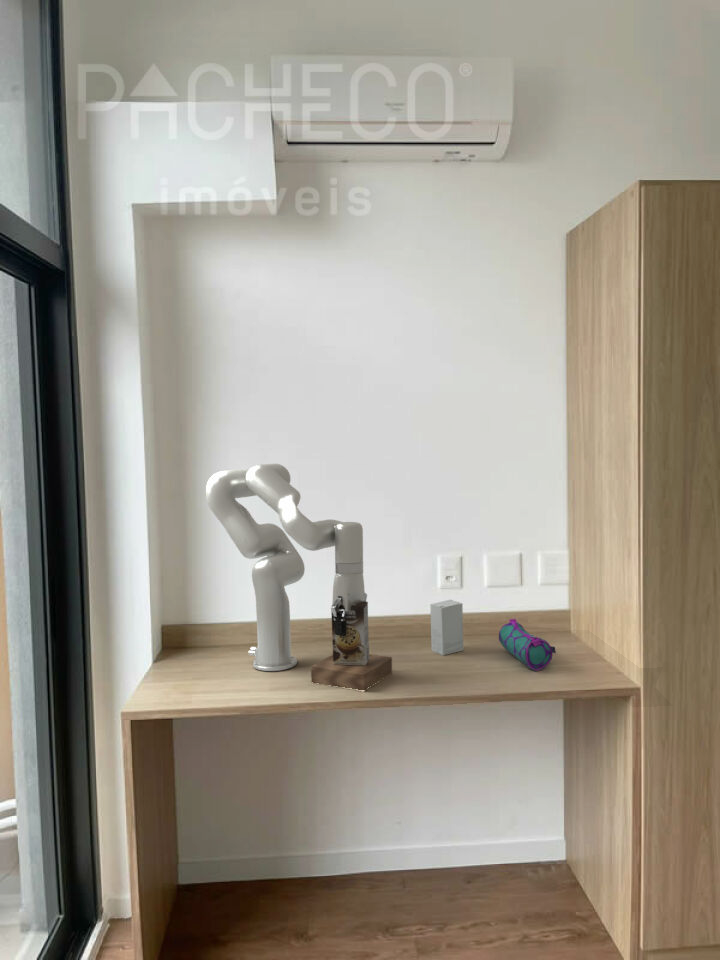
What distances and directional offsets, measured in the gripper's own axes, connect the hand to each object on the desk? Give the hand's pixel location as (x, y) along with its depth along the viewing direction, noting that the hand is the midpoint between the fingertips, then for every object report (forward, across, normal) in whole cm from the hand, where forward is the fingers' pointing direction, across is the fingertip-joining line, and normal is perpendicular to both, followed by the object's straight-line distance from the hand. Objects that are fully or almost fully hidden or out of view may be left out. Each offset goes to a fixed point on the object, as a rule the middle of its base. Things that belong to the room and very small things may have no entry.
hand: (350, 630), depth 191 cm
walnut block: (+14, 0, 0) cm, 14 cm away
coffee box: (+9, 0, 0) cm, 9 cm away
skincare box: (+13, -33, +14) cm, 38 cm away
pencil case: (+13, -34, +38) cm, 53 cm away
